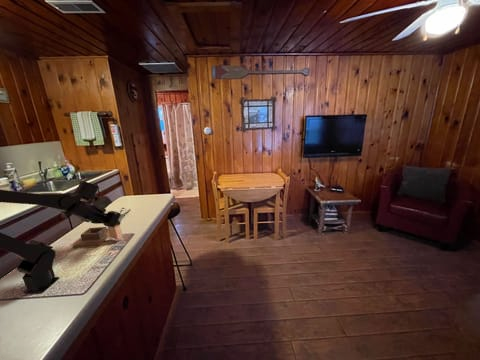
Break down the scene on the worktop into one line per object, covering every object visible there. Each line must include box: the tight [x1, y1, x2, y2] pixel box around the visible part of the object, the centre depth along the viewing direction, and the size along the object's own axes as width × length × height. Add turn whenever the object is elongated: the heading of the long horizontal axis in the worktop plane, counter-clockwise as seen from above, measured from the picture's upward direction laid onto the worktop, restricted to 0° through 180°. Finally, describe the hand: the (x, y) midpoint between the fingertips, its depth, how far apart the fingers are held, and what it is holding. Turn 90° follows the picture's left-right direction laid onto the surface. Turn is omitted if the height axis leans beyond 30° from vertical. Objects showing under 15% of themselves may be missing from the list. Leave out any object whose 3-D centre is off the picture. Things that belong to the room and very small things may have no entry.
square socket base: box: [72, 226, 110, 249], centre depth 95 cm, size 14×11×4 cm
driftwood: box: [118, 207, 130, 222], centre depth 120 cm, size 21×7×2 cm, turn 9°
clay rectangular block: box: [104, 210, 123, 240], centre depth 91 cm, size 2×5×12 cm, turn 69°
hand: (116, 222), depth 92 cm, fingers closed on clay rectangular block, 5 cm apart
